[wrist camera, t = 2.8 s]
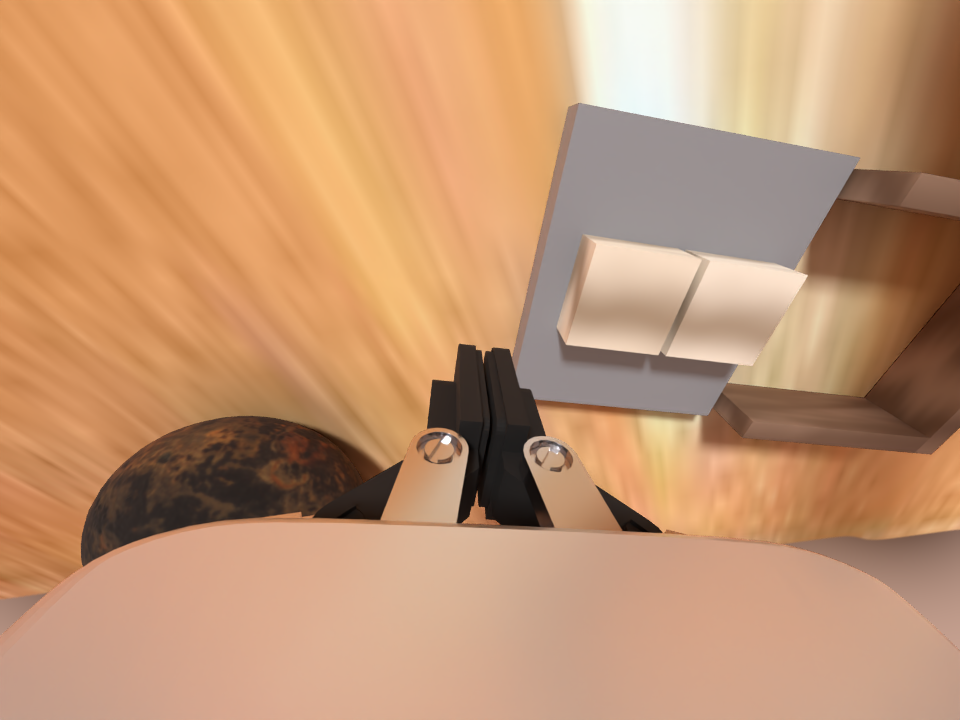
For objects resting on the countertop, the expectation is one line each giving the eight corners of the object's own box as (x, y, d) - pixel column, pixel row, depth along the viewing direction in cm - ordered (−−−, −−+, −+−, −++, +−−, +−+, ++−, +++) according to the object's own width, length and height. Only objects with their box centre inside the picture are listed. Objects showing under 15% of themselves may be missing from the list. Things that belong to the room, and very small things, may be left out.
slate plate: (568, 107, 19) (579, 102, 18) (828, 157, 21) (860, 157, 20) (506, 381, 28) (509, 396, 27) (693, 400, 30) (707, 415, 28)
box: (830, 167, 22) (922, 172, 17) (1045, 208, 23) (1177, 222, 19) (701, 396, 30) (742, 437, 26) (867, 413, 32) (931, 454, 28)
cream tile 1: (582, 234, 21) (596, 243, 19) (678, 248, 22) (702, 259, 19) (556, 327, 24) (565, 344, 22) (641, 337, 25) (658, 355, 22)
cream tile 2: (685, 249, 22) (710, 260, 20) (774, 263, 22) (808, 275, 20) (647, 338, 25) (665, 356, 22) (727, 347, 25) (752, 365, 23)
